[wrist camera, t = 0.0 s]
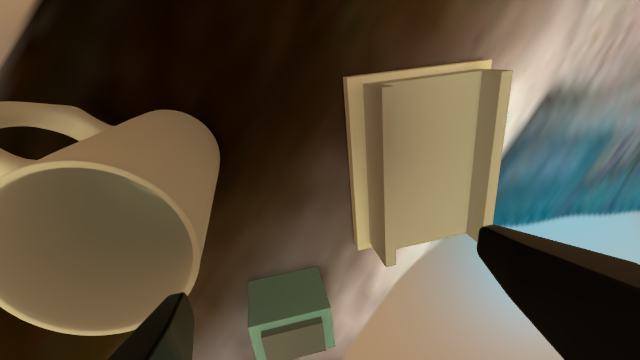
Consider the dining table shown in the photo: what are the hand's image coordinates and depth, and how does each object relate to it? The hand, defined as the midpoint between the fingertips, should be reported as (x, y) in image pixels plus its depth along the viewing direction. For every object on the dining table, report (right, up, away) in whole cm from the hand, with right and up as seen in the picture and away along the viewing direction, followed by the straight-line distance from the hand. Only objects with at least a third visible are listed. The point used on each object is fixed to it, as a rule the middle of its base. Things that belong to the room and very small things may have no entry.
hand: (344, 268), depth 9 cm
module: (-4, -7, +18) cm, 20 cm away
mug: (-12, +5, +11) cm, 17 cm away
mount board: (+7, +4, +16) cm, 18 cm away
